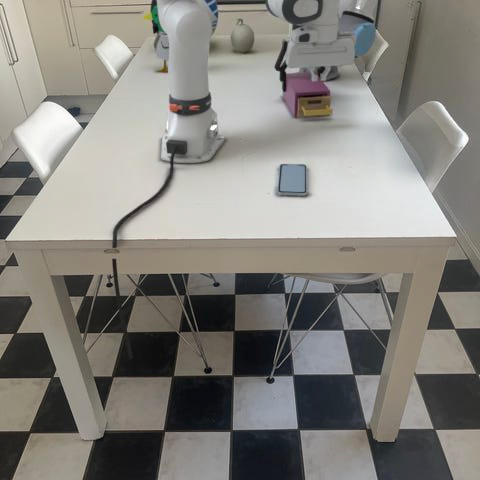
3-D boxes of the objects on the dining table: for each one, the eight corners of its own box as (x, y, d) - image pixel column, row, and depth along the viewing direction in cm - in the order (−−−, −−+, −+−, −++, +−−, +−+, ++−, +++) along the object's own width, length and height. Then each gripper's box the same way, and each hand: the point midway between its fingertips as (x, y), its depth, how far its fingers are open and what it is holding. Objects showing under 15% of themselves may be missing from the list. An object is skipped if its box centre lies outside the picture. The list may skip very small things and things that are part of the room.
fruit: (247, 46, 238) (247, 12, 230) (258, 52, 229) (258, 17, 221) (227, 49, 235) (225, 14, 226) (236, 55, 226) (235, 19, 218)
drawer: (334, 122, 161) (335, 103, 157) (302, 125, 160) (303, 106, 156) (315, 95, 181) (316, 78, 177) (286, 97, 180) (287, 80, 176)
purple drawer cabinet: (328, 115, 168) (330, 90, 164) (294, 117, 167) (295, 93, 163) (313, 94, 185) (315, 71, 180) (282, 96, 184) (283, 73, 179)
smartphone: (277, 192, 126) (279, 163, 138) (277, 196, 127) (279, 166, 139) (307, 193, 125) (307, 164, 137) (307, 196, 126) (306, 167, 138)
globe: (220, 56, 226) (217, -19, 209) (152, 59, 225) (143, -17, 207) (218, 39, 250) (215, -30, 233) (156, 41, 249) (149, -28, 232)
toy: (155, 65, 218) (148, 2, 203) (198, 69, 211) (194, 5, 197) (145, 70, 212) (137, 6, 198) (190, 75, 205) (185, 9, 191)
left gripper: (353, 28, 151) (349, 75, 159) (285, 31, 149) (283, 79, 157) (360, 33, 146) (355, 81, 154) (289, 37, 144) (288, 86, 152)
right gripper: (337, 18, 170) (331, 83, 183) (266, 22, 168) (265, 87, 181) (343, 23, 164) (337, 91, 177) (270, 27, 162) (269, 95, 175)
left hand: (318, 80), depth 155 cm, fingers closed
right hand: (301, 89), depth 179 cm, fingers closed on purple drawer cabinet, 11 cm apart
